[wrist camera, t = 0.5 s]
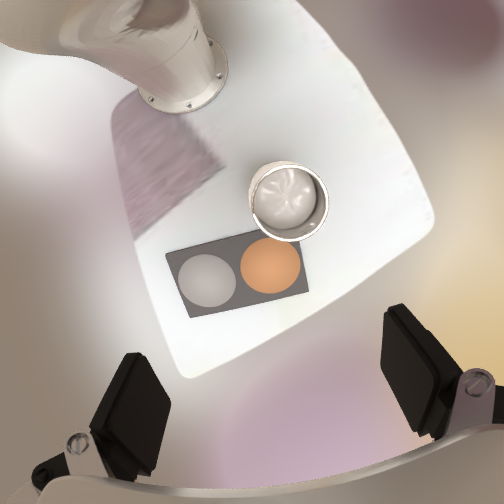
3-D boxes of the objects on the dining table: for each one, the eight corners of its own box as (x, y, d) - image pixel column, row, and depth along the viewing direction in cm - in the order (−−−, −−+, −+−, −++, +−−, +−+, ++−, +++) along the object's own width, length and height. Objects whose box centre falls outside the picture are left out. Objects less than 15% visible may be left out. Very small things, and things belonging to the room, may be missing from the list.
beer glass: (248, 210, 38) (249, 245, 23) (247, 159, 35) (247, 161, 21) (299, 210, 38) (329, 244, 23) (300, 159, 35) (332, 162, 21)
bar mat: (166, 253, 39) (164, 255, 39) (294, 221, 38) (294, 222, 37) (190, 316, 43) (189, 318, 42) (308, 289, 42) (309, 291, 41)
